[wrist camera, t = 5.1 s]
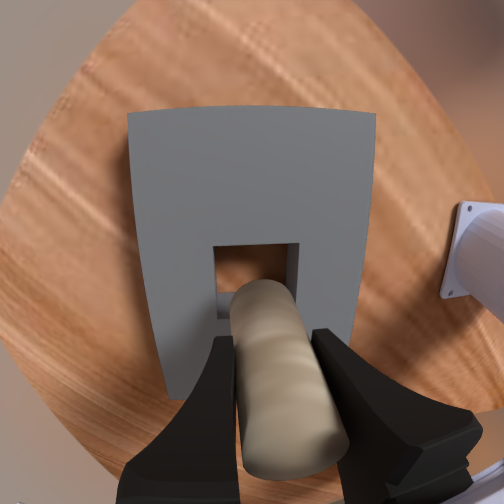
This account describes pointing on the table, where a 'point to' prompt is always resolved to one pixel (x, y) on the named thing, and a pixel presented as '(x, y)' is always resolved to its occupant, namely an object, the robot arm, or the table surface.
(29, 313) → the table surface
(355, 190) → the hole plate
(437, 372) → the table surface
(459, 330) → the table surface
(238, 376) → the birch pin
